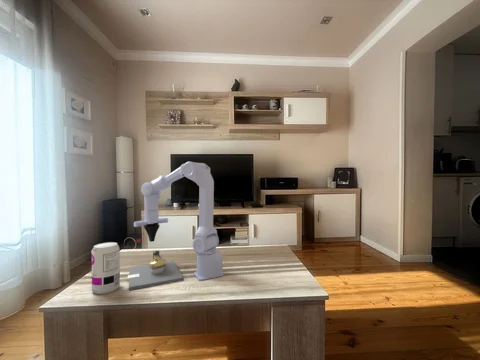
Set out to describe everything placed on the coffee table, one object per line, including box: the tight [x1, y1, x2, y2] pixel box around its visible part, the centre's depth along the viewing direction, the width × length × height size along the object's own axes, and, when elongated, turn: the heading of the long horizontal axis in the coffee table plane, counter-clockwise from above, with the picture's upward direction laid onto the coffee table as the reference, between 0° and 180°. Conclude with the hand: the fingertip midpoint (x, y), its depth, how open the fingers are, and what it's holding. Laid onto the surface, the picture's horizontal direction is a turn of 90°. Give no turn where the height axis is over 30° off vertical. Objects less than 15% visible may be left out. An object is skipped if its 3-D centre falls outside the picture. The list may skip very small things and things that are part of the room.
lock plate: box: [127, 254, 184, 291], centre depth 91 cm, size 18×21×5 cm
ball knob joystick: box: [148, 250, 166, 268], centre depth 95 cm, size 15×6×3 cm, turn 22°
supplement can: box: [91, 241, 121, 295], centre depth 79 cm, size 8×8×15 cm
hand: (151, 241), depth 102 cm, fingers closed
